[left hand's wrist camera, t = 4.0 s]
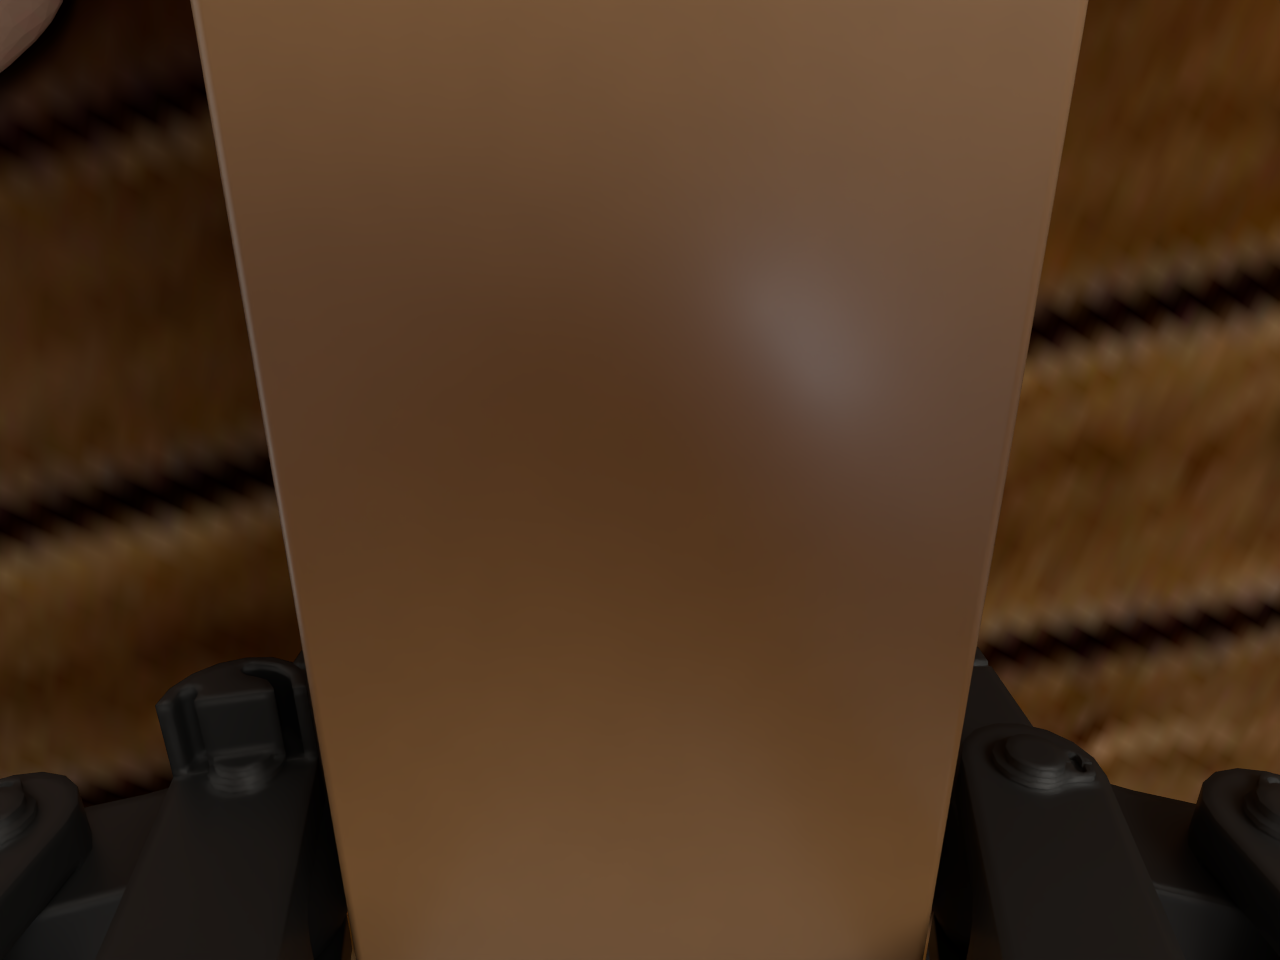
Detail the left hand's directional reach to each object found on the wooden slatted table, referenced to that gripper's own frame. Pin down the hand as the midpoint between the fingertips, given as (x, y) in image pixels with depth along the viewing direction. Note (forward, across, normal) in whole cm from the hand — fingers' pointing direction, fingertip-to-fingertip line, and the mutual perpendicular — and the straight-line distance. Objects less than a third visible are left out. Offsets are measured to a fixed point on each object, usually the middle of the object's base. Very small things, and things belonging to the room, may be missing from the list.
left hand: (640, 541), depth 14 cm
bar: (+1, 0, -10) cm, 10 cm away
